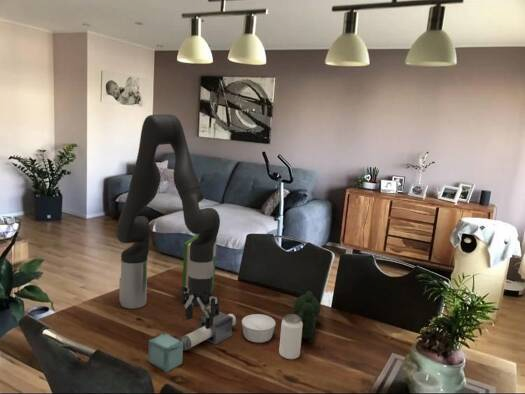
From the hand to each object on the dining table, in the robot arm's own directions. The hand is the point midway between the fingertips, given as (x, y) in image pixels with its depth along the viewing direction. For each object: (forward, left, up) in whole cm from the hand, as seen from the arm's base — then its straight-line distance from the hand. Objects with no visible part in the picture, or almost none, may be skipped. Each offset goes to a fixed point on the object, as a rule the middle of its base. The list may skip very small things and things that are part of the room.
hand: (198, 323), depth 130 cm
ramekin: (+10, +18, -8) cm, 22 cm away
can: (+24, +16, -8) cm, 30 cm away
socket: (0, -13, -8) cm, 15 cm away
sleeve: (0, +8, -8) cm, 11 cm away
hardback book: (-26, +26, -8) cm, 38 cm away
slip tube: (0, +5, -8) cm, 9 cm away
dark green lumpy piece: (+20, +32, -8) cm, 39 cm away
